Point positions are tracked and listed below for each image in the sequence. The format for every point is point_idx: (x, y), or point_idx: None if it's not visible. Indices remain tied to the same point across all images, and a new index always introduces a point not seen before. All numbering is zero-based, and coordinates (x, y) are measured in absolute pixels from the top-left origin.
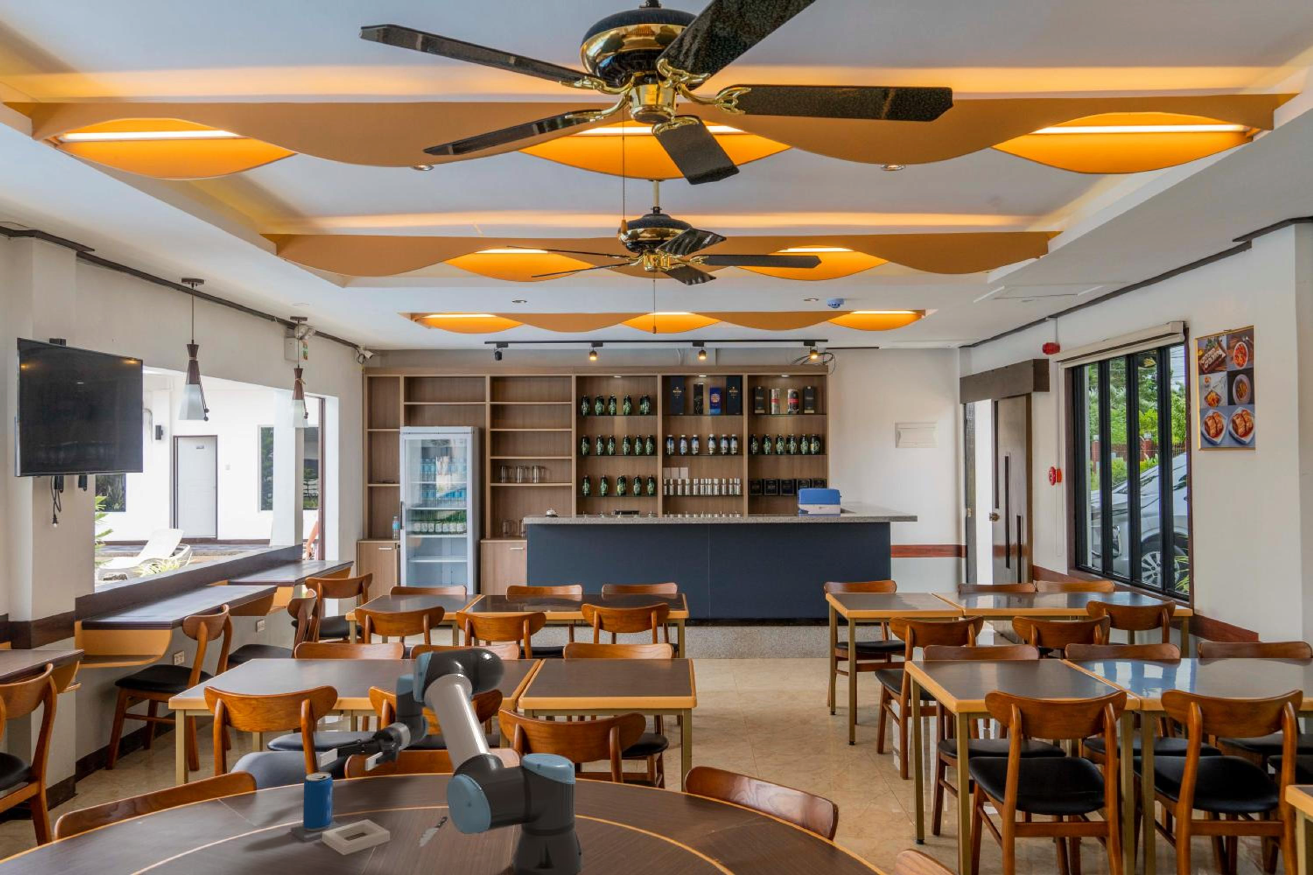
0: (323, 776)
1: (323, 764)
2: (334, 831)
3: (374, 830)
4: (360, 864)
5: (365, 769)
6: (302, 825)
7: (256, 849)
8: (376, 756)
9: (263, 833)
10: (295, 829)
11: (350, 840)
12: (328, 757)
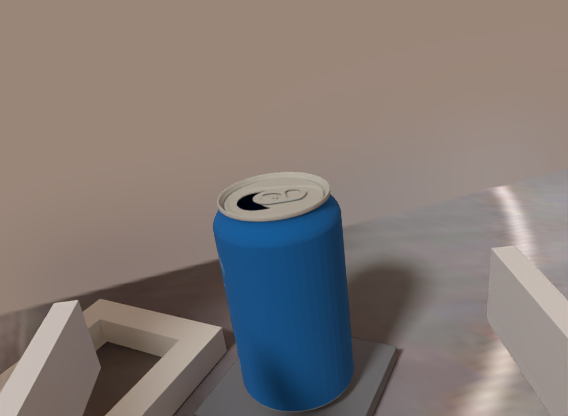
0: (297, 239)
1: (501, 331)
2: (183, 344)
3: None
4: (39, 308)
5: (97, 361)
6: (370, 370)
7: (372, 270)
8: (6, 397)
9: (469, 323)
10: (362, 343)
11: (94, 324)
12: (536, 343)
